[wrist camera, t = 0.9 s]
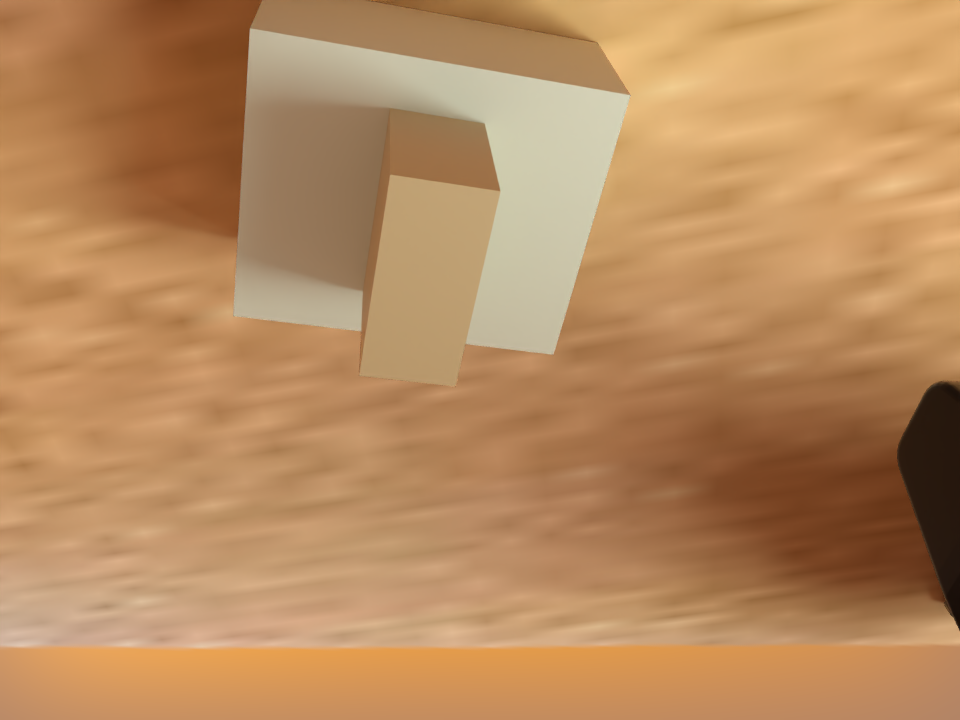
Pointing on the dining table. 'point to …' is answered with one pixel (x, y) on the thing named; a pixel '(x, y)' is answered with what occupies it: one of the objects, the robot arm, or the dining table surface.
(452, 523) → the dining table surface
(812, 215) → the dining table surface
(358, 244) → the square base with post
